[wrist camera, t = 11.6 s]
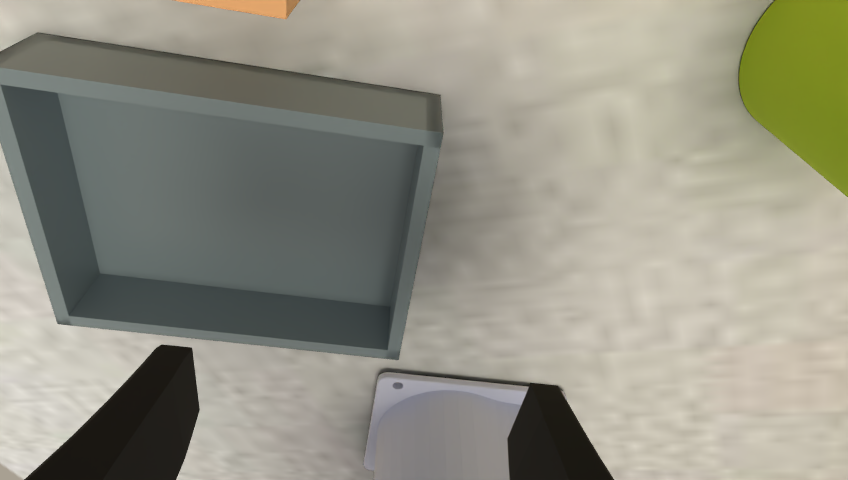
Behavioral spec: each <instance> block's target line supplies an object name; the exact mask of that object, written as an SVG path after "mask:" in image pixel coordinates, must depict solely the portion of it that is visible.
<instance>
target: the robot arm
mask: <svg viewBox="0 0 848 480" xmlns="http://www.w3.org/2000/svg"><path fill="white" fill-rule="evenodd" d="M396 382H400V383H396ZM198 413H199V401H198V393H197V385H196V377H195V368H194V360H193V352H192V348H190V347H180V346H170V345H160V346H159V347H157V348H156V349H155V350H154V351H153V352H152V353H151V355H150V356H149V357H148V358H147V359H146V360H145V361H144V362H143V363H142V365H141V366H140V367H139V368H138V369H137V370H136V371H135V372H134V373H133V374H132V375H131V377H130V378H129V379H128V380H127V381H126V382H125V383H124V384H123V385H122V386H121V387H120V388H119V389H118V390H117V391H116V392H115V393H114V395H113V396H112V397H111V398H110V399H109V400H108V401H107V402H106V403H105V404H104V405H103V406H102V407H101V408H100V409H99V410H98V411H97V412H96V413H95V414H94V415H93V416H92V417H91V418H90V419H89V420H88V421H87V422H86V423H85V424H84V425H83V426H82V427H81V428H80V429H79V430H78V431H77V432H76V433H75V434H74V435H73V436H71V437H70V438H69V439H68V440H67V441H66V442H65V443H64V444H63V445H62V446H61V447H60V448H59V449H57V450H56V451H55V452H54V453H53V454H52V455H51V456H50V457H49V458H48V459H46V460H45V461H44V462H43V463H42V464H41V465H40V466H39V467H38V468H37V469H36V470H34V471H33V472H32V473H31V474H30V475H29V476H28V477H27V478H25V479H24V480H176V478H177V476H178V474H179V471H180V469H181V466H182V464H183V462H184V459H185V456H186V453H187V450H188V447H189V444H190V440H191V437H192V434H193V430H194V427H195V424H196V420H197V417H198ZM363 465H364V467H365V468H366V469H367V470H371V471H374V480H614V479H613V477H612V476H611V474H610V473H609V471H608V469H607V468H606V466H605V465H604V463H603V462H602V460H601V458H600V457H599V455H598V453H597V452H596V450H595V449H594V447H593V445H592V444H591V442H590V440H589V438H588V437H587V435H586V433H585V432H584V430H583V428H582V427H581V425H580V423H579V421H578V420H577V418H576V416H575V414H574V413H573V411H572V409H571V407H570V406H569V404H568V402H567V399H566V395H565V393H564V392H563V391H561V390H560V388H559V387H558V386H555V385H545V384H535V383H530V386H529V387H527V386H518V385H508V384H498V383H489V382H479V381H469V380H460V379H450V378H440V377H431V376H421V375H411V374H402V373H392V372H385V373H382V374H380V375H379V377H378V380H377V385H376V391H375V397H374V403H373V409H372V415H371V421H370V426H369V432H368V438H367V444H366V450H365V456H364V463H363Z"/></svg>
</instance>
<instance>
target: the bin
mask: <svg viewBox="0 0 848 480" xmlns="http://www.w3.org/2000/svg"><path fill="white" fill-rule="evenodd" d="M442 137H443V122H442V110H441V97H440V95H437V94H430V93H424V92H417V91H411V90H404V89H398V88H391V87H385V86H378V85H372V84H365V83H359V82H352V81H346V80H339V79H333V78H327V77H320V76H314V75H307V74H301V73H294V72H288V71H281V70H275V69H268V68H262V67H255V66H249V65H242V64H236V63H229V62H223V61H217V60H210V59H204V58H197V57H191V56H184V55H178V54H171V53H165V52H158V51H152V50H145V49H139V48H132V47H126V46H119V45H113V44H107V43H100V42H94V41H87V40H81V39H74V38H68V37H61V36H55V35H48V34H42V33H36V34H34V35H32V36H30V37H28V38H26V39H24V40H22V41H20V42H18V43H16V44H14V45H12V46H10V47H8V48H6V49H4V50H2V51H0V143H1V146H2V149H3V152H4V155H5V159H6V162H7V165H8V168H9V171H10V174H11V178H12V181H13V184H14V187H15V190H16V194H17V197H18V200H19V203H20V206H21V209H22V213H23V216H24V219H25V222H26V225H27V228H28V232H29V235H30V238H31V241H32V244H33V247H34V251H35V254H36V257H37V260H38V263H39V267H40V270H41V273H42V276H43V279H44V282H45V286H46V289H47V292H48V295H49V298H50V301H51V305H52V308H53V311H54V314H55V317H56V321H57V324H62V325H72V326H81V327H91V328H100V329H109V330H119V331H128V332H138V333H147V334H157V335H166V336H176V337H185V338H195V339H204V340H213V341H223V342H232V343H242V344H251V345H261V346H270V347H280V348H289V349H299V350H308V351H317V352H327V353H336V354H346V355H355V356H365V357H374V358H384V359H393V360H399V355H400V349H401V344H402V339H403V334H404V329H405V324H406V319H407V314H408V309H409V304H410V299H411V294H412V289H413V284H414V279H415V274H416V269H417V264H418V259H419V253H420V248H421V243H422V238H423V233H424V228H425V223H426V218H427V213H428V208H429V203H430V198H431V193H432V188H433V183H434V178H435V173H436V168H437V163H438V158H439V152H440V147H441V142H442Z"/></svg>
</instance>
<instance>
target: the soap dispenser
mask: <svg viewBox="0 0 848 480" xmlns="http://www.w3.org/2000/svg"><path fill="white" fill-rule="evenodd" d="M739 87H740V93H741V97H742V100H743V102H744V105H745V107H746V108H747V110H748V112H749V113H750V114H751V115H752V117H753V118H754V119H755V120H756V121H758V122H759V123H760V124H761V125H762V126H764V127H765V128H766V129H767V130H768V131H769V132H771V133H772V134H773V135H774V136H775V137H777V138H778V139H779V140H780V141H781V142H783V143H784V144H785V145H786V146H787V147H789V148H790V149H791V150H792V151H793V152H794V153H796V154H797V155H798V156H799V157H800V158H802V159H803V160H804V161H805V162H806V163H808V164H809V165H810V166H811V167H812V168H814V169H815V170H816V171H817V172H818V173H819V174H821V175H822V176H823V177H824V178H825V179H827V180H828V181H829V182H830V183H831V184H833V185H834V186H835V187H836V188H837V189H839V190H840V191H841V192H842V193H843V194H844V195H846V196H847V197H848V0H775V1H774V2H773V3H772V4H771V6H770V7H769V8H768V9H767V10H766V12H765V13H764V14H763V16H762V17H761V19H760V20H759V21H758V23H757V25H756V26H755V28H754V30H753V31H752V33H751V35H750V37H749V39H748V42H747V44H746V47H745V49H744V52H743V55H742V59H741V64H740V70H739Z"/></svg>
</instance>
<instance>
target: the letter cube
mask: <svg viewBox="0 0 848 480" xmlns="http://www.w3.org/2000/svg"><path fill="white" fill-rule="evenodd" d="M174 1H180V2H186V3H192V4H198V5H204V6H210V7H216V8H222V9H228V10H234V11H240V12H246V13H252V14H258V15H264V16H270V17H276V18H282V19H287V17H288V16H289V15H290V13H291V12H292V10H293V9H294V8H295V6H296V5H297V4H298V2H299V1H300V0H174Z"/></svg>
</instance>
